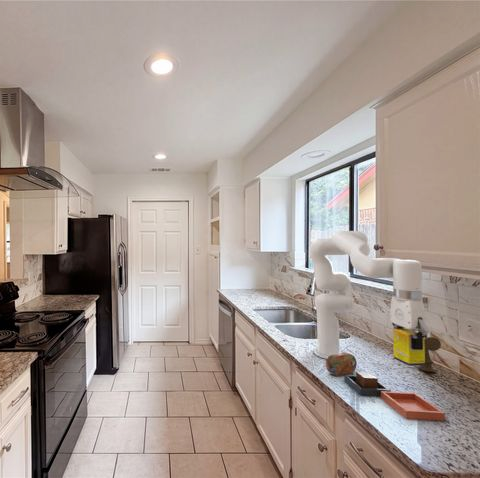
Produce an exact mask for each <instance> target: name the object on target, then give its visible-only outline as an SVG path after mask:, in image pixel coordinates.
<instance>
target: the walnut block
mask: <svg viewBox="0 0 480 478" xmlns="http://www.w3.org/2000/svg"><path fill="white" fill-rule="evenodd" d="M355 375H356V384H357V385H359V386H360V387H361V388H373V389H378V381H379V378H378V377H376V376H375V375H374V374H373V373H371V372H370V371H355Z"/></svg>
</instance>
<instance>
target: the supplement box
mask: <svg viewBox="0 0 480 478" xmlns="http://www.w3.org/2000/svg"><path fill="white" fill-rule="evenodd" d="M415 332H416V334H417V333H418V332H417V331H415ZM392 334H393V335H392V337H393V338H392V339H393V359H394V360H396V361H398V362H400V363H403V364H404V365H406V366H410V367H412V366H420V365H425V347H424V339H423V350H413V349H412V348H411V337H413V336H412V333H411V330H410V329H406V328H404V329H394V328H393V330H392Z"/></svg>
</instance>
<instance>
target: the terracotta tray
mask: <svg viewBox="0 0 480 478" xmlns="http://www.w3.org/2000/svg"><path fill="white" fill-rule="evenodd" d="M380 399H382V400H383V401H384V402H386V404H388V405H389V406H390V407H392V408H393V409H394V410H395V411H396V412H397V413H399V414H400V415H401V416H402V417H404V418H405V419H408V420H409V419H410V420H424V421H425V420H426V421H427V420H428V421H442V422H443V421H444V422H445V421H446V413H445V412H444V411H443V410H441V409H439V408H438V407H436V406H435V405H433V404H432V403H431V402H429V401H428V400H426V399H425V398H423V397H422V396H420V395H419V394H418V393H416V392H405V391H404V392H403V391H391V392H387V391H381V396H380Z"/></svg>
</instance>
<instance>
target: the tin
mask: <svg viewBox="0 0 480 478" xmlns="http://www.w3.org/2000/svg"><path fill="white" fill-rule="evenodd" d="M357 365H358V364H357V359H356V357H355V355H353V354H351V353H347V352H340V354H335V355H330V356H329V357H328V358H327V359H325V367H326V371H327V372H328V373H329V374H331V375H333V376H335V377H340V376H344V375H351V374H353V373H355V372H356V368H357Z"/></svg>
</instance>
